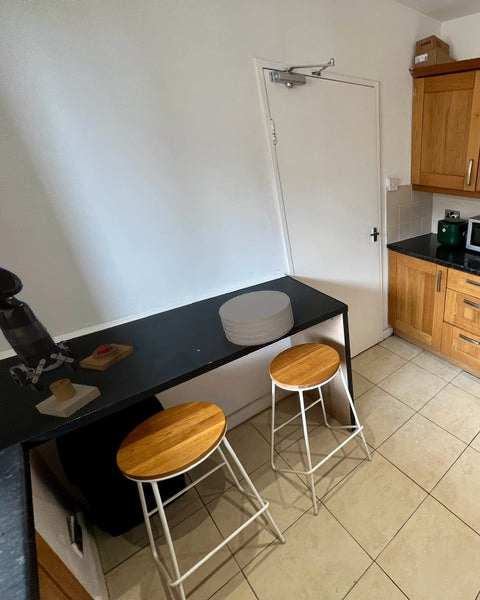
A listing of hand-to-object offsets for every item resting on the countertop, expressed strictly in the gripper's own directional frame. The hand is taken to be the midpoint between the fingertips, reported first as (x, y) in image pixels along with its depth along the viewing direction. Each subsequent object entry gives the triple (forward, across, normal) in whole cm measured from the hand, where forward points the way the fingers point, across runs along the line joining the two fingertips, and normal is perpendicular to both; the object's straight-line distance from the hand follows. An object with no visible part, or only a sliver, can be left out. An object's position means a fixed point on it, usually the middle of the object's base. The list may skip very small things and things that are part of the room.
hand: (58, 381), depth 95 cm
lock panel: (+9, 0, 0) cm, 9 cm away
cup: (+9, -12, -27) cm, 31 cm away
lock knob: (+6, 0, 0) cm, 6 cm away
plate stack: (+10, -52, +33) cm, 62 cm away
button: (+5, -21, -11) cm, 24 cm away
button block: (+9, -21, -11) cm, 25 cm away
